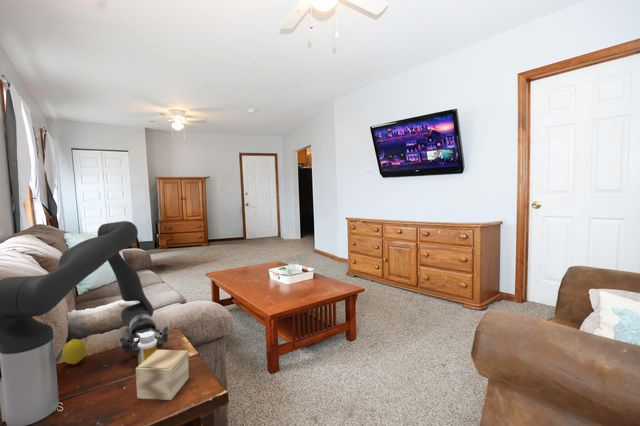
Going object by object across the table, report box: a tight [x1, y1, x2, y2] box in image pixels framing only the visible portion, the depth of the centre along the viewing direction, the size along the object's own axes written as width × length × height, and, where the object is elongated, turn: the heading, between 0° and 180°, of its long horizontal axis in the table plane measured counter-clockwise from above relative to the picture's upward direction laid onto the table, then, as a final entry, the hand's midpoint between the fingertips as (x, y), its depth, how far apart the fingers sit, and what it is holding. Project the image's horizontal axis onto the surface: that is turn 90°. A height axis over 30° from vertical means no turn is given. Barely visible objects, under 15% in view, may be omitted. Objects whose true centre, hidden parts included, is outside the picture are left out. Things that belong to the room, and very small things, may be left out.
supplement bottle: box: [137, 331, 159, 367], centre depth 92 cm, size 5×5×10 cm
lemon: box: [61, 338, 87, 365], centre depth 93 cm, size 6×6×8 cm
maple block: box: [135, 349, 190, 401], centre depth 82 cm, size 9×9×8 cm
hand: (148, 349), depth 90 cm, fingers closed on supplement bottle, 5 cm apart
